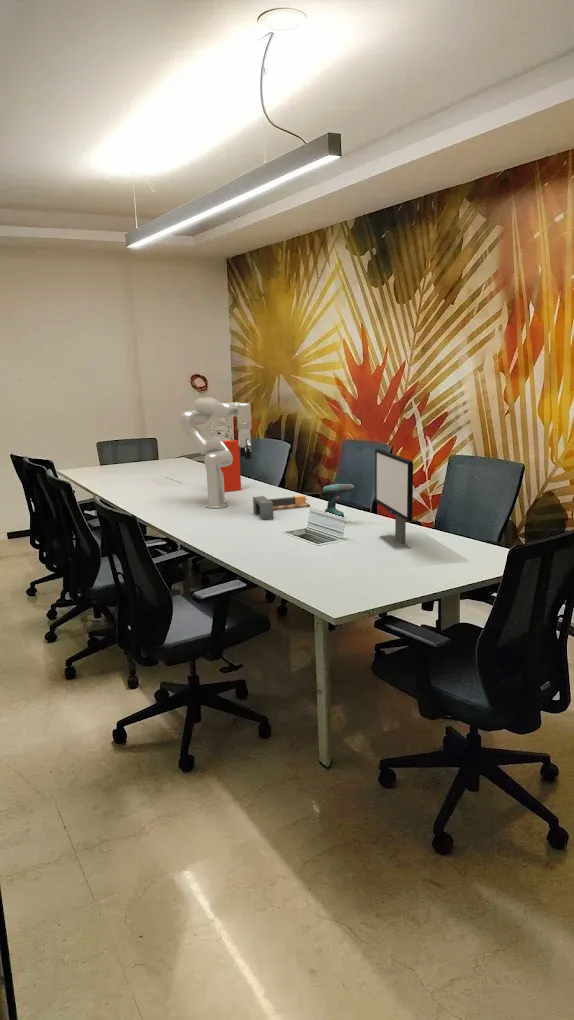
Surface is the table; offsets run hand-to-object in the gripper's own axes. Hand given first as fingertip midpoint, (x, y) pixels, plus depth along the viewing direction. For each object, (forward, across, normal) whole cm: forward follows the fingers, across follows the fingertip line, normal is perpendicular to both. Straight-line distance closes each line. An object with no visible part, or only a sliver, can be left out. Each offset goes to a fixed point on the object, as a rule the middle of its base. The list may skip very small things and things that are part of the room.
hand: (245, 457), depth 356 cm
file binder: (+31, -64, +3) cm, 71 cm away
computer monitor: (+30, +88, +45) cm, 103 cm away
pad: (+30, -4, +22) cm, 38 cm away
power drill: (+30, +42, +37) cm, 64 cm away
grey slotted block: (+30, +13, +5) cm, 33 cm away
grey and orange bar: (+29, -4, +24) cm, 38 cm away
